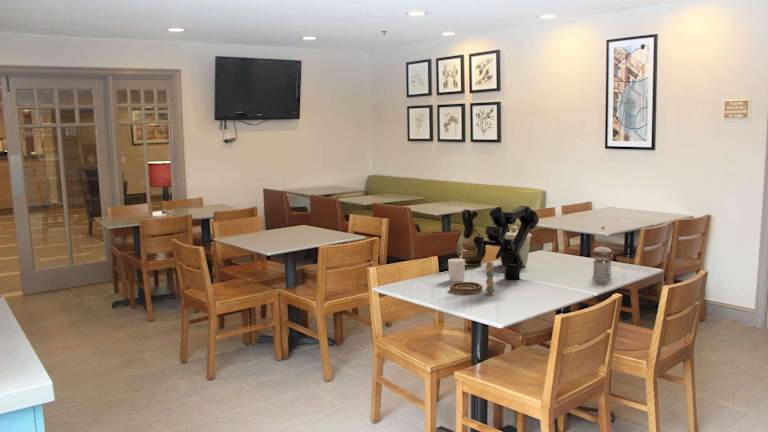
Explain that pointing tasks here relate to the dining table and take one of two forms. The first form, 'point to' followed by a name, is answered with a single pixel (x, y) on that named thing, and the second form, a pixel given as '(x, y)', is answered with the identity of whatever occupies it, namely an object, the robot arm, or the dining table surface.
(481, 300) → the dining table surface
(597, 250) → the french press
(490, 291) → the post
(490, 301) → the dining table surface
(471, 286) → the groove tray
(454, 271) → the white cup
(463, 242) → the ceramic jug
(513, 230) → the canister
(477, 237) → the robot arm
